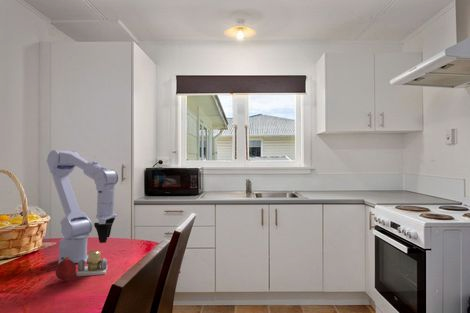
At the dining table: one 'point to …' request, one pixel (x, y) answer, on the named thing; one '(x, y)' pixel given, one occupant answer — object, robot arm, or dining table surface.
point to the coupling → (94, 260)
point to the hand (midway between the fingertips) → (104, 239)
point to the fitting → (84, 271)
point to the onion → (65, 269)
